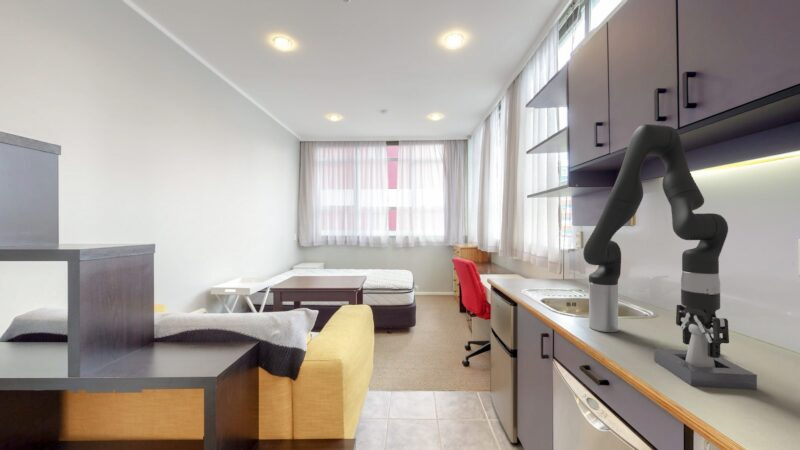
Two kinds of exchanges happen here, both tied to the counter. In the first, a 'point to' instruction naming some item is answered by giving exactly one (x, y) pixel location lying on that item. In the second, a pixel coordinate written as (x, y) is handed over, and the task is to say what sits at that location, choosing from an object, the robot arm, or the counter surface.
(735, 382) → the collar
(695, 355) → the salt shaker
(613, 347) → the counter surface
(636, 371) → the counter surface
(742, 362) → the counter surface
